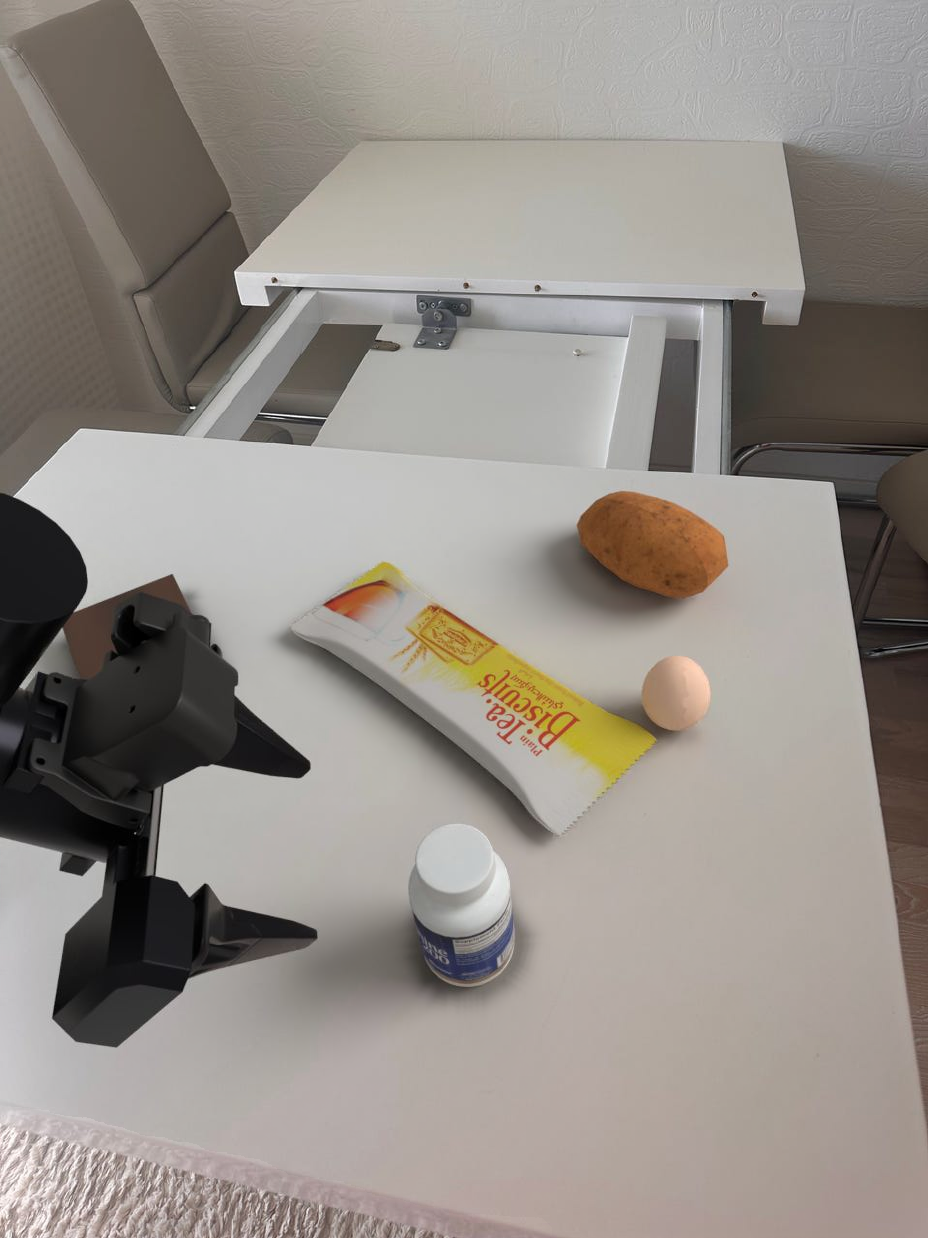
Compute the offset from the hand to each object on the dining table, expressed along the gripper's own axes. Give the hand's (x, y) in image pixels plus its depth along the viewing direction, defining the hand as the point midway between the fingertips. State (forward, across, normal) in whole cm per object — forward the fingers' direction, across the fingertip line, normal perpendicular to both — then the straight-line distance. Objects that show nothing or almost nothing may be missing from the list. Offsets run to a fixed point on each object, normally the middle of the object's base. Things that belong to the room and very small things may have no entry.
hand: (309, 849), depth 45 cm
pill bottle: (+14, 0, +4) cm, 15 cm away
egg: (+25, +13, -7) cm, 29 cm away
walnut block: (-1, +27, +19) cm, 33 cm away
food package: (+16, +19, +3) cm, 25 cm away
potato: (+27, +28, -9) cm, 40 cm away
